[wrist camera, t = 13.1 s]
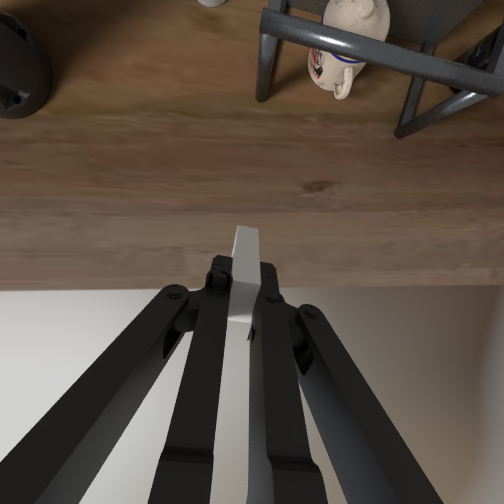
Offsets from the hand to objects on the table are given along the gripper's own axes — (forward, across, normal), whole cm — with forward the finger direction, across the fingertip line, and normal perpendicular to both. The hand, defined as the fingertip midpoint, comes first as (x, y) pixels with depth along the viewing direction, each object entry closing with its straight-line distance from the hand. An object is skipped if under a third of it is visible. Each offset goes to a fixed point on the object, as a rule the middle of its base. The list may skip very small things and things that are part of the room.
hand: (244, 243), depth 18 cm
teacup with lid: (+35, +11, +16) cm, 40 cm away
